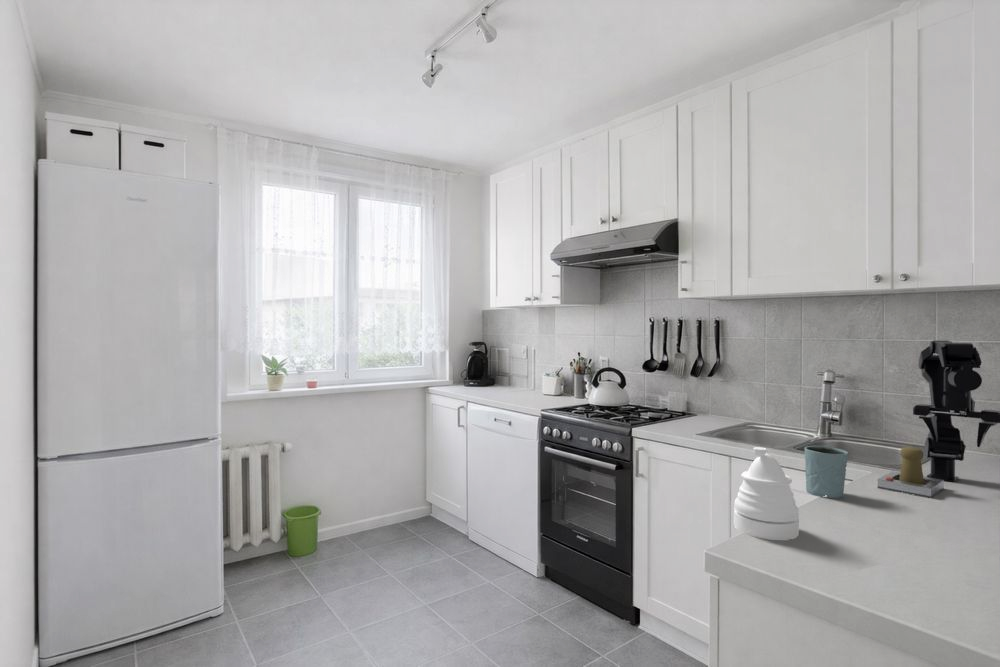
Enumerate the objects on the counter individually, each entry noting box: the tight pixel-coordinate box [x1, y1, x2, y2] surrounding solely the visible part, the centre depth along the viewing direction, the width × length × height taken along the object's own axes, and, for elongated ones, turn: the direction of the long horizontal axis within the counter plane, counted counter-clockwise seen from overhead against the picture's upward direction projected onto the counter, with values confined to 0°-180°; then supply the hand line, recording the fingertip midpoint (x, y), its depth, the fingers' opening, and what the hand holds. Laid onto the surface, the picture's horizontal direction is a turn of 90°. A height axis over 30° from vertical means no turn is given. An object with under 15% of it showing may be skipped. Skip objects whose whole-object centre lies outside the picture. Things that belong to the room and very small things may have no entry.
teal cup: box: [804, 445, 849, 499], centre depth 146 cm, size 10×10×12 cm
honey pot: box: [733, 446, 800, 541], centre depth 119 cm, size 13×13×18 cm
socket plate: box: [877, 470, 945, 499], centre depth 152 cm, size 14×12×3 cm
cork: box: [899, 446, 924, 485], centre depth 152 cm, size 6×6×11 cm
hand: (956, 444), depth 149 cm, fingers open, 9 cm apart
